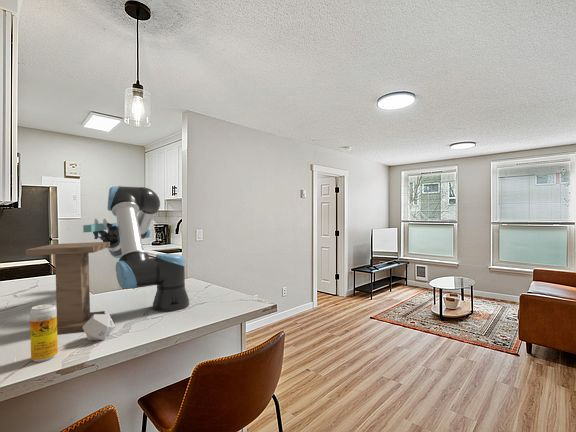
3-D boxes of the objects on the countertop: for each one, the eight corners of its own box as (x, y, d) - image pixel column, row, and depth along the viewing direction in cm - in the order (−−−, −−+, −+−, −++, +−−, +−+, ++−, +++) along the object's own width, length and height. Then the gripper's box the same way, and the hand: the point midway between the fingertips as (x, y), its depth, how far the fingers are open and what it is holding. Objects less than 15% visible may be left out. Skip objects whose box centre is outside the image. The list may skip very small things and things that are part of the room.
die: (91, 348, 97) (112, 320, 100) (71, 333, 99) (92, 306, 101) (105, 346, 105) (124, 321, 108) (86, 333, 106) (105, 308, 109)
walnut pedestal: (55, 319, 123) (53, 243, 123) (111, 313, 128) (109, 241, 128) (28, 338, 104) (25, 249, 103) (95, 331, 109) (93, 246, 109)
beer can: (33, 365, 85) (31, 311, 85) (29, 358, 89) (27, 306, 89) (60, 357, 90) (58, 305, 90) (55, 351, 94) (53, 302, 94)
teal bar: (102, 229, 156) (102, 223, 156) (109, 229, 156) (109, 223, 156) (83, 232, 131) (83, 225, 130) (91, 232, 131) (91, 225, 131)
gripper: (128, 247, 167) (117, 227, 147) (94, 249, 162) (78, 228, 143) (129, 235, 170) (119, 214, 150) (96, 236, 166) (81, 214, 146)
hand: (99, 221), depth 147 cm, fingers closed on teal bar, 3 cm apart
